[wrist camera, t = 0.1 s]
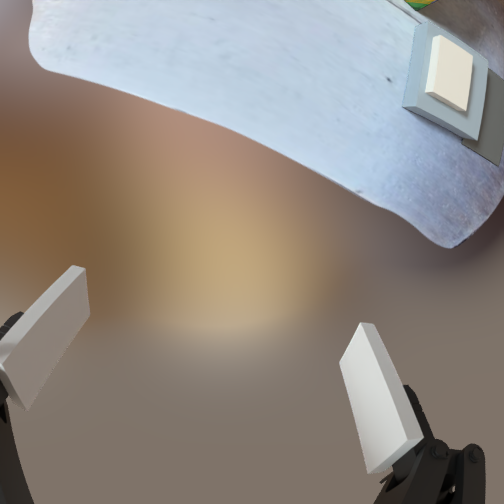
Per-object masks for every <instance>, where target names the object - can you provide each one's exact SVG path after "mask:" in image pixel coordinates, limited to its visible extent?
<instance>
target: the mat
mask: <svg viewBox="0 0 504 504" xmlns="http://www.w3.org/2000/svg"><path fill="white" fill-rule="evenodd" d="M462 144H463V145H465V146H466V147H468V148H470V149H471V150H473V151H475V152H476V153H478V154H480V155H481V156H483V157H484V158H486V159H488V160H489V161H491V162H492V163H494V164H495V165H497V166H499V163H500V159H501V154H502V150H503V145H504V80H503V79H502V78H500V77H499V76H498V75H497V74H496V73H494V72H493V71H492V70H491V69H489V68H488V73H487V84H486V92H485V100H484V107H483V113H482V119H481V125H480V130H479V135H478V140H473V139H467V138H463V139H462Z"/></svg>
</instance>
